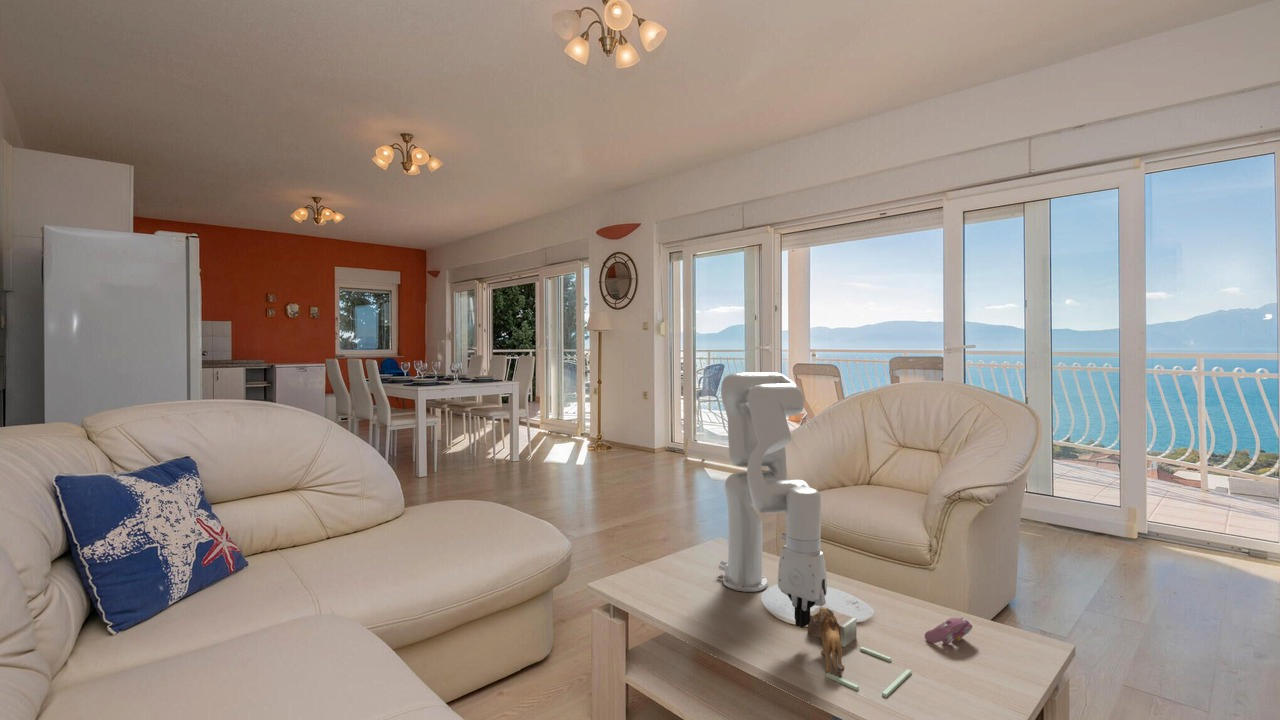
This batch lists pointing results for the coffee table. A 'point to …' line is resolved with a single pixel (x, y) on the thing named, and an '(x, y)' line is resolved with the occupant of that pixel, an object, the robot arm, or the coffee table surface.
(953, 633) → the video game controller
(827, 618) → the lion figurine
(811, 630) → the walnut block
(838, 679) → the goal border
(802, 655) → the coffee table surface
